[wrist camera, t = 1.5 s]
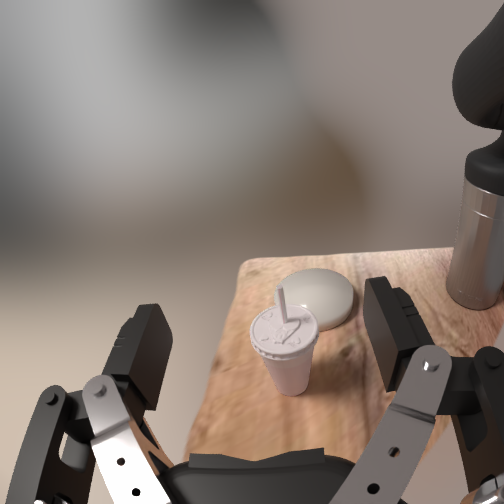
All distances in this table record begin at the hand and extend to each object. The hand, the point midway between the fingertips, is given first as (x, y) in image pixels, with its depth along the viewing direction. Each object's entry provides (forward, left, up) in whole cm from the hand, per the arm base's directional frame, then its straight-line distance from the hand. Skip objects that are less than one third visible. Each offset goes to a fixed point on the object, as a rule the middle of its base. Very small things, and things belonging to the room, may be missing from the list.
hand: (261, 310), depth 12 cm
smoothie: (-8, -7, -23) cm, 25 cm away
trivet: (-20, -13, -22) cm, 33 cm away
